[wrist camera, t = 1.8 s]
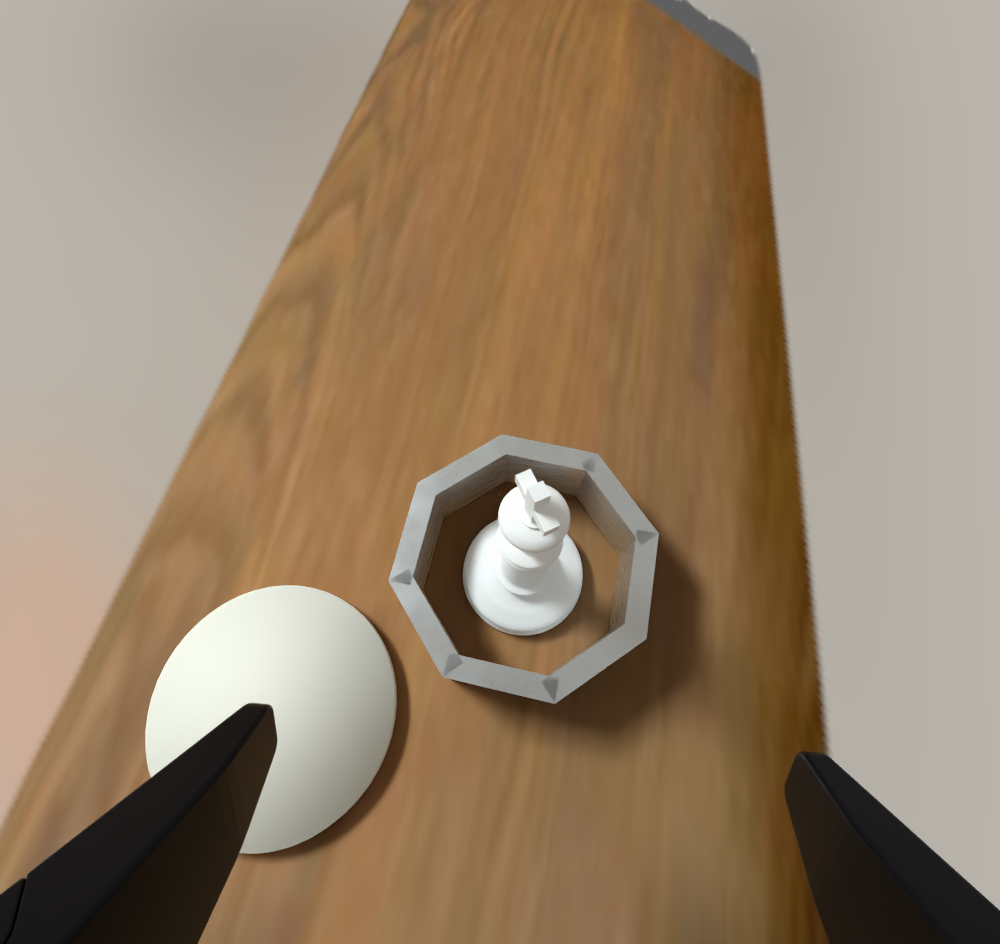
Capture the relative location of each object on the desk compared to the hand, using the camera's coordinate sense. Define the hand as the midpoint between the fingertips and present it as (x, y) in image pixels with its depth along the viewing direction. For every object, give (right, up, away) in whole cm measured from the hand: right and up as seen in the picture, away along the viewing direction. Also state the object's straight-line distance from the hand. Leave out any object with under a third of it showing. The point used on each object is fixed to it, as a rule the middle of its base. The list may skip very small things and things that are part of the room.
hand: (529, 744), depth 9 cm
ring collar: (0, +1, +13) cm, 13 cm away
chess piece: (0, 0, +13) cm, 13 cm away
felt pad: (-9, -4, +11) cm, 15 cm away
